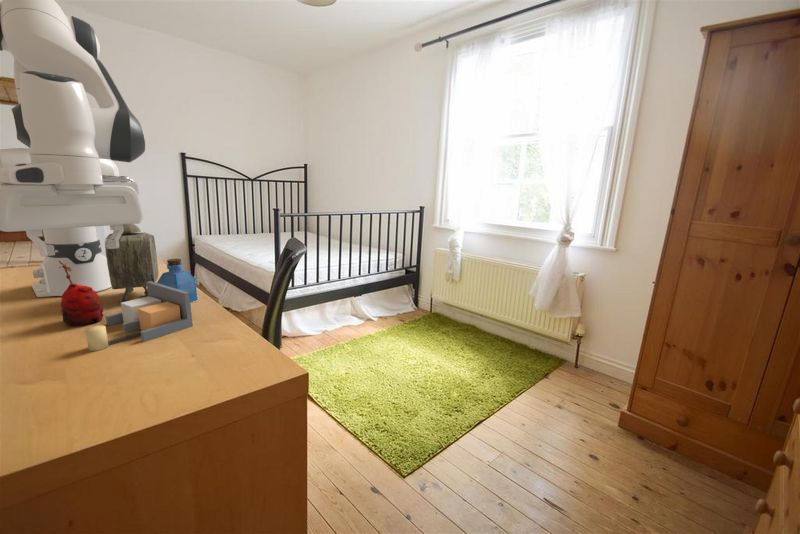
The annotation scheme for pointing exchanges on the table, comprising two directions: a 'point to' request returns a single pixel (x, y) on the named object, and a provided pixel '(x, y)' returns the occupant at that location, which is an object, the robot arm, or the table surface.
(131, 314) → the white block
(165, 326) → the lane rack
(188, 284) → the perfume bottle
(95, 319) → the red clay folk toy
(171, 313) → the tan block and knob
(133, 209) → the robot arm
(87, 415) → the table surface
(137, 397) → the table surface
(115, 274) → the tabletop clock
